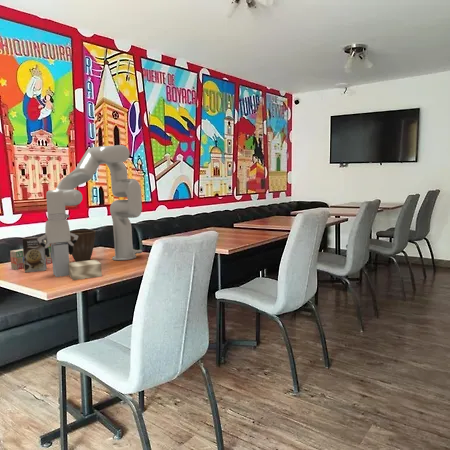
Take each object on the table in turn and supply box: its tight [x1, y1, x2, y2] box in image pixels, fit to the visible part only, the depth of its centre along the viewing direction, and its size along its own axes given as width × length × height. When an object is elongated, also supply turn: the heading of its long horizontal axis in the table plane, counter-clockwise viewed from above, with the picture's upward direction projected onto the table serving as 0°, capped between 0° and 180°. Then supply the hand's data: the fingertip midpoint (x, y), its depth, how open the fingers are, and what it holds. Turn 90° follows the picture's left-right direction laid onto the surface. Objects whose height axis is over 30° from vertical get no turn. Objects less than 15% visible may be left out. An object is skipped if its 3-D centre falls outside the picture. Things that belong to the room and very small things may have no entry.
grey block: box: [51, 242, 70, 278], centre depth 188 cm, size 6×7×14 cm
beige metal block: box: [68, 259, 103, 281], centre depth 185 cm, size 12×12×6 cm
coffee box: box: [22, 236, 48, 273], centre depth 201 cm, size 9×6×16 cm
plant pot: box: [67, 229, 96, 262], centre depth 220 cm, size 15×15×16 cm
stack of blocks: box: [9, 239, 57, 271], centre depth 215 cm, size 21×6×12 cm, turn 143°
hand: (59, 255), depth 188 cm, fingers open, 9 cm apart
